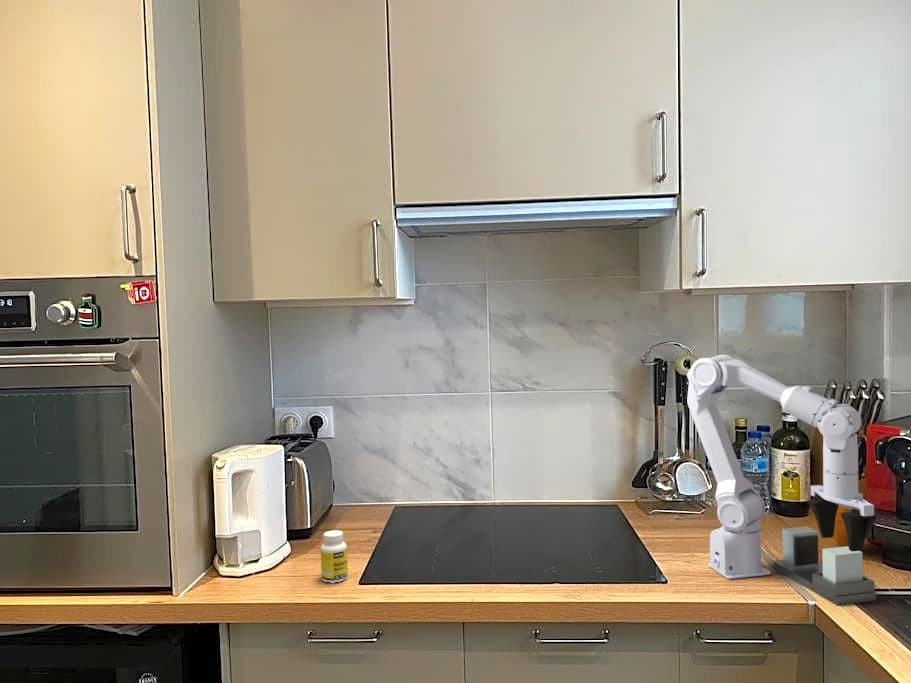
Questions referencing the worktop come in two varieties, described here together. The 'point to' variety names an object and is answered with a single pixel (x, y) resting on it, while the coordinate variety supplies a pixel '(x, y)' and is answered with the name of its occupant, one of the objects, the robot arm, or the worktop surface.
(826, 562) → the pale green upright block
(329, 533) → the supplement bottle
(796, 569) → the grey block holder
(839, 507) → the carrot
